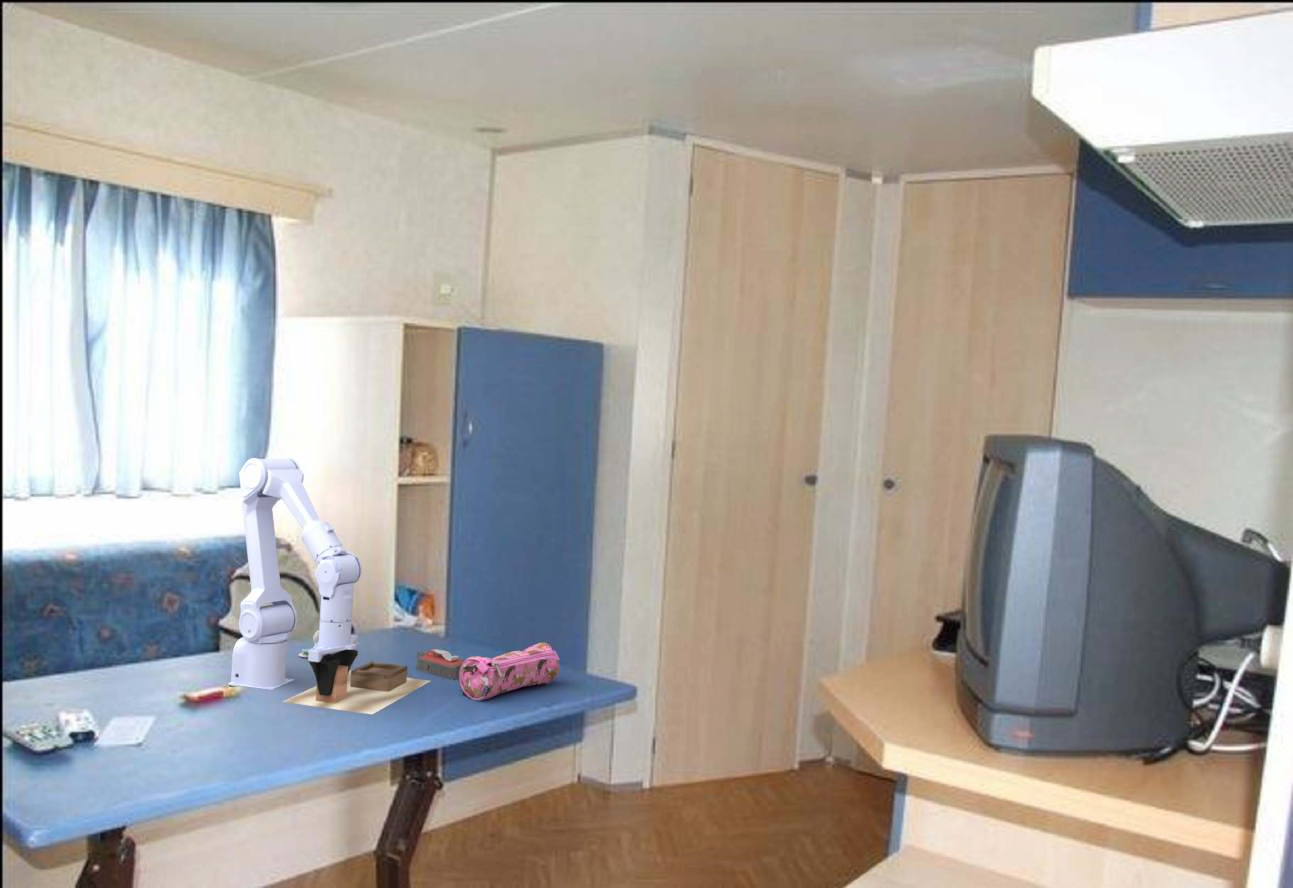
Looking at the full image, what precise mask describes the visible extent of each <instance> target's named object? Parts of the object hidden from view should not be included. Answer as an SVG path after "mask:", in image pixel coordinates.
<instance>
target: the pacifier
mask: <svg viewBox="0 0 1293 888" xmlns="http://www.w3.org/2000/svg"><path fill="white" fill-rule="evenodd" d="M318 641H319V629H317V630H316V632H314V634H313V637H312V642H313V643H314V645H313V647H314V646H315V645H316V644H317V643H318ZM313 647H311V648H307V649H306V648H305V649H304V648H302V649H301V652H300V653H298V656H299V657H301V658H306V659H308V656H309V650H311V649H313Z"/></svg>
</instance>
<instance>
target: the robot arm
mask: <svg viewBox="0 0 1293 888" xmlns="http://www.w3.org/2000/svg"><path fill="white" fill-rule="evenodd" d="M238 473H239V475H238V476H239V484H240V486H239V487H240V492H241V493H240V494H241V507H242V515H243V524H244V525H243V526H244V527H243V528H244V534H245V542H246V543H245V544H246V553H247V562H248V563H247V564H248V572H249V581H250V589H251V591H250V593H248V595H247V596H246V597H245V598H244V599H242V601H241V602H240V614H239V619H238V628H239V631H240V634H241V635H242V637H240V638H239V639H238V640H237V641H236V642H235V644H234V647H233V650H232V658H231V674H230V682H228V686H229V685H231V686H232V687H239V686H243V687H250V688H259V689H264V690H274V689H277V688H279V687H280V686H283V685H286V684H288V683H291V682H293V681H294V680H295V679H293V678H287V677H286V667H287V666H286V665H287V664H286V662H287V646H288V639H290V638H291V634H292V633H293V632H294V631H295V629H296V628H297V626H298V621H299V619H298V612H297V610H296V608H295V606H294V604H293V596H292V595H291V594H290V593H289V592H287V590H286V589H284V588H283V587H282V584H281V576H280V567H279V558H278V550H277V549H278V548H277V539H276V532H275V523H274V522H275V521H274V515H273V514H274V512H273V508H274V506H275V505H276V504H277V502H278V501H280V500H282V501H283V502H284V504H285V505H286V507H287V508H288V509H289V511H290V512H291V513H292V515H293V517H294V518H295V520H296V521H297V522H298V523H299V525H300V527H301V528H302V533H301V541H302V542H303V544H304V545H305V547H306V549H307V551H308V552H309V554H310V556H311V557H312V559H313V561H314V563H315V565H316V566H317V568H316V569H315V570H314V573H315V579H316V582H317V584H318V592H319V595H320V597H321V598H320V612H319V613H320V614H319V624H318V625H319V627H318V628H319V629H318V630H319V641H318V643H317V644H316V645H315V646H314V645H313V647H312V648H313V649H311V648H310V649H311V650H309V654H308V655H309V656H308V658H307V660H308V663H309V665H310V668H312V671H313V672H314V676H315V679H316V686H318V691H319V695H325V696H330V695H331V693H332V690H333V685H334V678H335V674H336V671H337V668H338V666H339V665H342V666H348V673H349V671H350V670H351V667H352V666H353V663H354V662H355V659H356V658H357V657H358V655H359V654H358V653H359V651H358V650H356V648H357V646H358V645H359V636H358V635H355V634H352V624H353V623H352V621H353V620H352V619H353V608H354V605H353V604H354V590H355V584H356V583H357V582H358V581H359V580H360V579H361V576H362V572H363V571H362V569H363V568H362V563H361V560H360V559H359V557H358V555H356V554H355V553H352V552H350V551H349V550H348V549H345V547H344V546H343V544H342V543H341V540H340V539H339V537H338V535H337V534H336V532H335V529H334V527H333V525H332V524H330V523H329V522H328V521H322V520H321V519H320V517H319V515H318V513H317V511H316V509H315V507H314V505H313V502H312V500H311V499H310V497H309V495H308V492H307V491H306V488H305V486H304V484H303V483H304V477H305V476H304V474H305V473H304V471H302V469H301V467H300V465H299V463H298V462H297V461H296V459H294V458H290V457H287V458H256V457H254V458H253V457H252V458H249V459H248V460H247V461H246V462H245V463H244V465H243V466H242V468H241V469H240V471H238ZM269 603H270V604H269ZM264 604H269V605H264ZM358 647H359V646H358ZM231 686H230V687H231Z"/></svg>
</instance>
